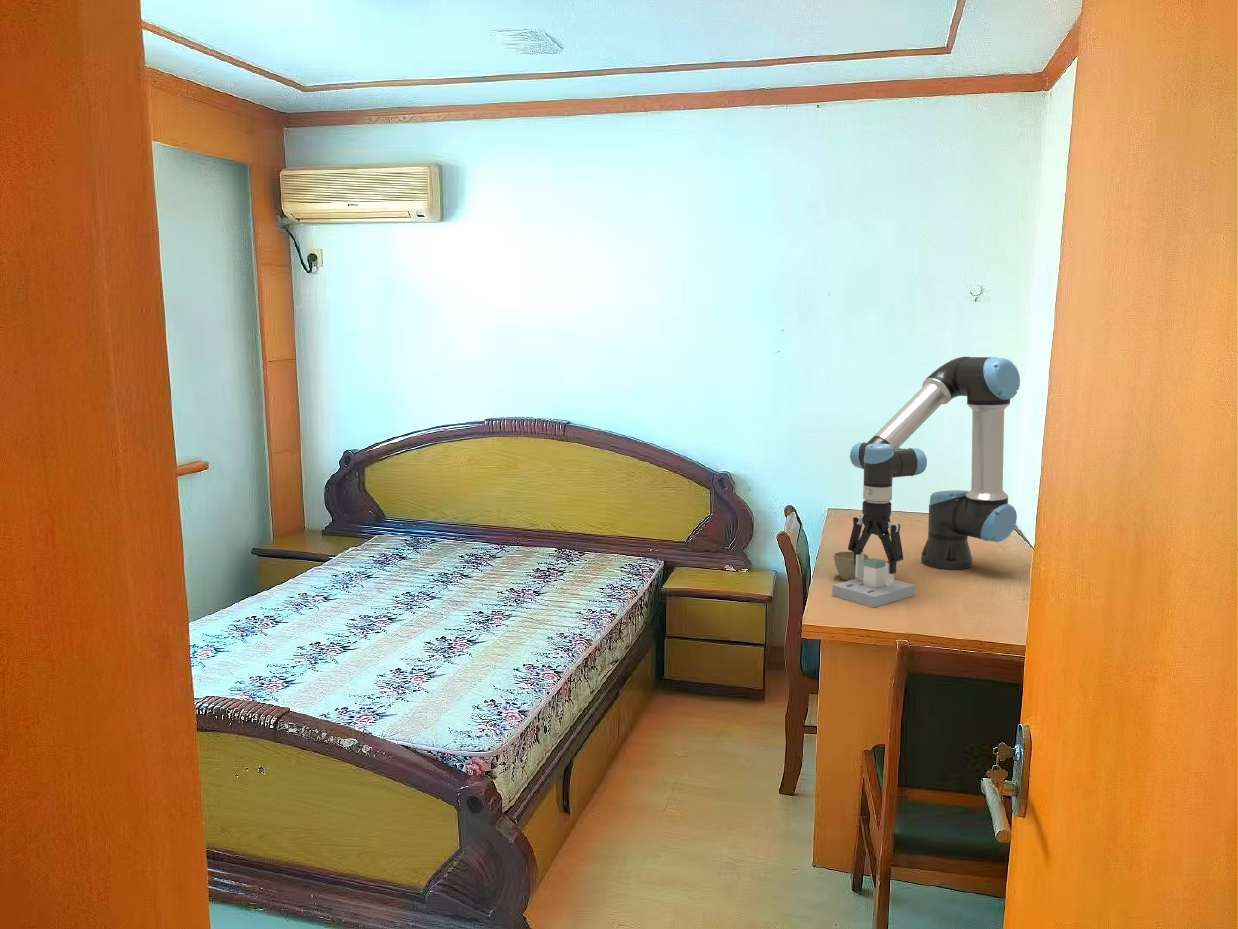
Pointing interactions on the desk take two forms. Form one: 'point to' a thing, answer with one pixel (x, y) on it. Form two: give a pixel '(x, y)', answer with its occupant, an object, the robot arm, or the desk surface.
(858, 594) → the outlet plate
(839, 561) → the flower pot
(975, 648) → the desk surface
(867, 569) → the block
